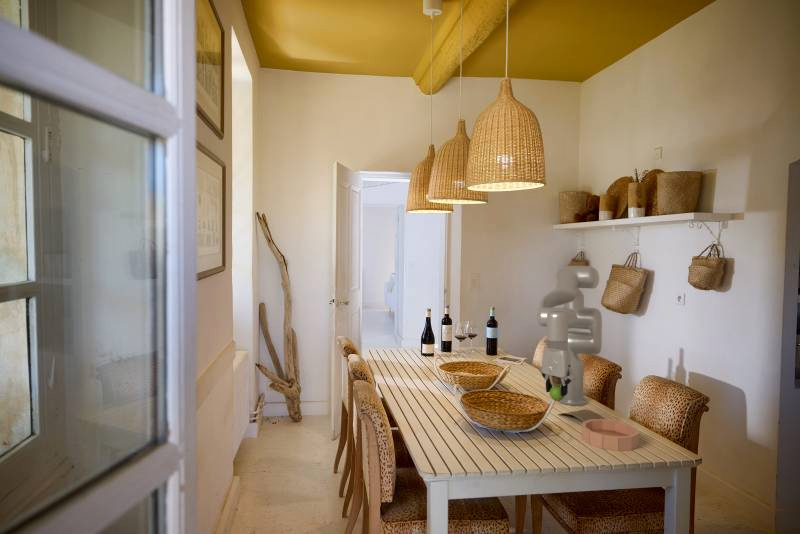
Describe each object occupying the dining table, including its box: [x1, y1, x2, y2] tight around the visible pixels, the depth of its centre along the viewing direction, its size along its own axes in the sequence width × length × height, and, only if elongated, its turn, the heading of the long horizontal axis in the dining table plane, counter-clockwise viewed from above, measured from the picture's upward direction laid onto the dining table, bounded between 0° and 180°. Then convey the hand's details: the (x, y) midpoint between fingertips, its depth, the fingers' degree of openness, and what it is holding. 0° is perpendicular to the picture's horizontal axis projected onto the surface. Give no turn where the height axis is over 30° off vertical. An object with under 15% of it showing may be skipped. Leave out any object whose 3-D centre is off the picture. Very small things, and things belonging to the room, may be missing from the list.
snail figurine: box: [549, 370, 564, 402], centre depth 184 cm, size 5×6×12 cm
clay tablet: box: [558, 408, 605, 423], centre depth 201 cm, size 16×11×3 cm
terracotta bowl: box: [581, 418, 640, 452], centre depth 177 cm, size 18×18×4 cm
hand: (556, 392), depth 184 cm, fingers closed on snail figurine, 5 cm apart
